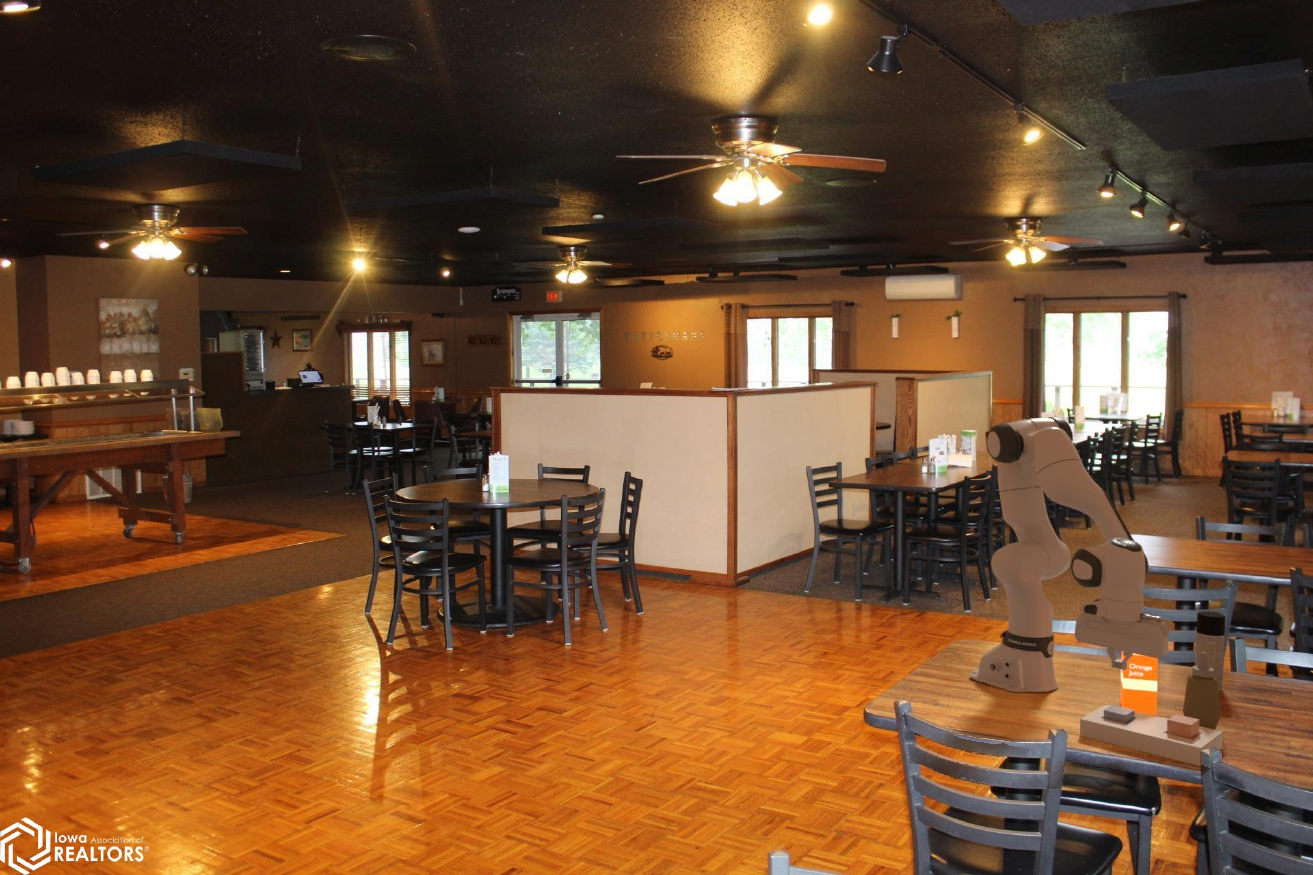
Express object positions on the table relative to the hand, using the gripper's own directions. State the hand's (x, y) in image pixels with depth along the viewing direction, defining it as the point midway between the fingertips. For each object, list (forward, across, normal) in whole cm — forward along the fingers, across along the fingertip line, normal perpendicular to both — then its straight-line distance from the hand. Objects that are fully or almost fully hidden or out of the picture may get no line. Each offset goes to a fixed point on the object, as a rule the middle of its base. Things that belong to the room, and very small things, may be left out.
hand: (1119, 668), depth 240 cm
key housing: (+15, -8, 0) cm, 17 cm away
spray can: (+16, -4, -51) cm, 53 cm away
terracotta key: (+12, -15, 0) cm, 19 cm away
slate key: (+14, -1, 0) cm, 14 cm away
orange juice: (+16, +3, -22) cm, 27 cm away
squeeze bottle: (+15, -13, -18) cm, 27 cm away
